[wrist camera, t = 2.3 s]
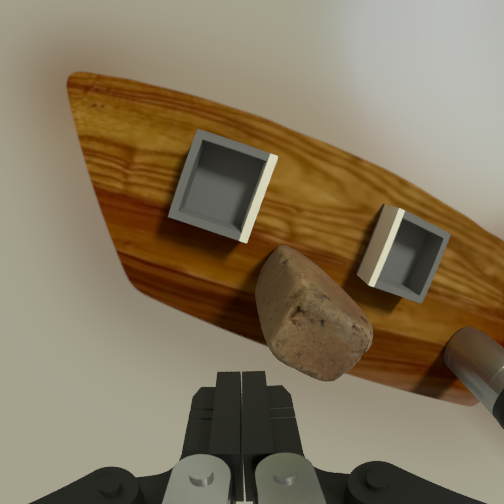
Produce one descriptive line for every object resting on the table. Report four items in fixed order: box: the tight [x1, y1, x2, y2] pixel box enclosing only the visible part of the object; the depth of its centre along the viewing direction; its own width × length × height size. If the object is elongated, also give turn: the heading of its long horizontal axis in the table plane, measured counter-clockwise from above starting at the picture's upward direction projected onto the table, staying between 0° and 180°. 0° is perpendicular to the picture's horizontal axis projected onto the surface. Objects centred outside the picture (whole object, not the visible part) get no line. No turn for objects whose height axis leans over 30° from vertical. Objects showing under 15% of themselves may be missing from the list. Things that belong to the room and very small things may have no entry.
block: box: [255, 245, 373, 381], centre depth 35 cm, size 11×8×20 cm
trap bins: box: [168, 129, 451, 304], centre depth 41 cm, size 37×11×5 cm, turn 70°
